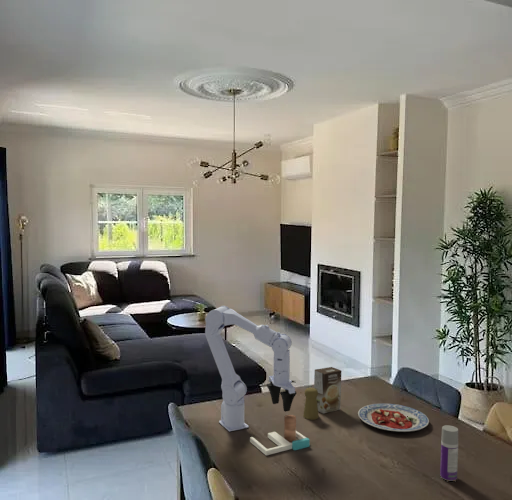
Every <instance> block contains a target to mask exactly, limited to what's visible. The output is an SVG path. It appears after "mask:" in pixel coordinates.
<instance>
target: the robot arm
mask: <svg viewBox="0 0 512 500" xmlns="http://www.w3.org/2000/svg"><path fill="white" fill-rule="evenodd" d="M204 322H205V328H204V329H205V330H204V334H205V338H206V340H207V343H208V346H209V349H210V351H211V353H212V356H213V359H214V362H215V364H216V367H217V370H218V373H219V375H220V377H221V385H220V389H221V391H222V395H221V396H222V403H221V404H220V405H221V406H220V420H219V421H218V423H219V424H220V425H221V426H222V427H223V428H225V429H226V431H228V432H233V431H239V430H243V429H247V428H248V429H249V425H248V424H247V423H245V398H244V396H245V395H246V394H247V392H248V390H247V389H248V388H247V385H246V383H244V381H243V380H242V379H241V376H240V375H239V374H237V373H236V371H235V368H234V366H233V363H232V360H231V358H230V355H229V353H228V350H227V348H226V344H225V342H224V339H223V337H222V335H221V333H222V332H223V330H224V327H225V326H230V325H231V326H232V325H233V326H234V325H235V326H237V327H238V328H241V329H243V330H245V331H247V332H249V333H251V334H253V336H254V339H255V340H257V341H259V342H260V343H263V344H264V345H266V346H268V347H269V348H271V350H272V351H273V370H272V371H273V375H269V376H268V382H270V383H267V384H266V387H267V389H268V392H269V393H270V398H271V402H272V404H273V405H277V404H279V402H280V396H281V399H282V408H283V412H290V411H291V408H292V405H293V401H294V398H295V397H296V396H297V391H296V388H295V386H294V385H293V384H292V382H293V380H291V379H290V375H291V374H290V373H291V372H290V371H291V370H290V368H291V367H290V366H291V354H290V353H291V352H290V351H291V350H290V348H291V346H292V339H291V337H290V336H289V335H288V334H287V333H281V332H280V331H276V330H274V329H272V328H270V325H269V324H265V325H264V324H256V323H255V322H253V321H252V320H250V319H248V318H246V317H245V316H243V315H242V314H241V313H238V312H237V311H236V310H234V309H233V308H230V307H229V306H227V305H220V306H219V307H216V308H215V309H212V310H210V311H209V312H208V313H207V315H206V316H205V319H204ZM282 389H283V391H281V390H282Z"/></svg>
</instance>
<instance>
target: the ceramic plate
mask: <svg viewBox="0 0 512 500" xmlns="http://www.w3.org/2000/svg"><path fill="white" fill-rule="evenodd" d="M357 414H358V415H357V416H358V417H359V419H360V420H361V421H362V422H364V424H367V425H369V426H371V427H374V428H377V429H380V430H384V431H391V432H399V433H400V432H403V433H406V432H415V431H420V430H423V429H424V428H427V426H428V425H429V423H430V421H429V420H430V419H429V418H428V417H427V415H426V414H425V413H424V412H422V411H420V410H417V409H416V408H413V407H409V406H405V405H401V404H398V403H397V404H395V403H372V404H368V405H364V406H363V407H361V408H360V409H359V410H358V412H357ZM407 416H408V417H407Z"/></svg>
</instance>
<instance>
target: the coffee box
mask: <svg viewBox="0 0 512 500" xmlns="http://www.w3.org/2000/svg"><path fill="white" fill-rule="evenodd" d="M313 379H314V383H313V385H314V386H313V388H315V389H317V391H318V396H317V406H318V413H321V414H326V413H330V412H331V413H332V412H335V411H340V410H341V403H342V402H341V400H342V399H341V395H342V370H341V369H339V368H335V367H333V366H330V367H323V368H317V369H314V378H313Z"/></svg>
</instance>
